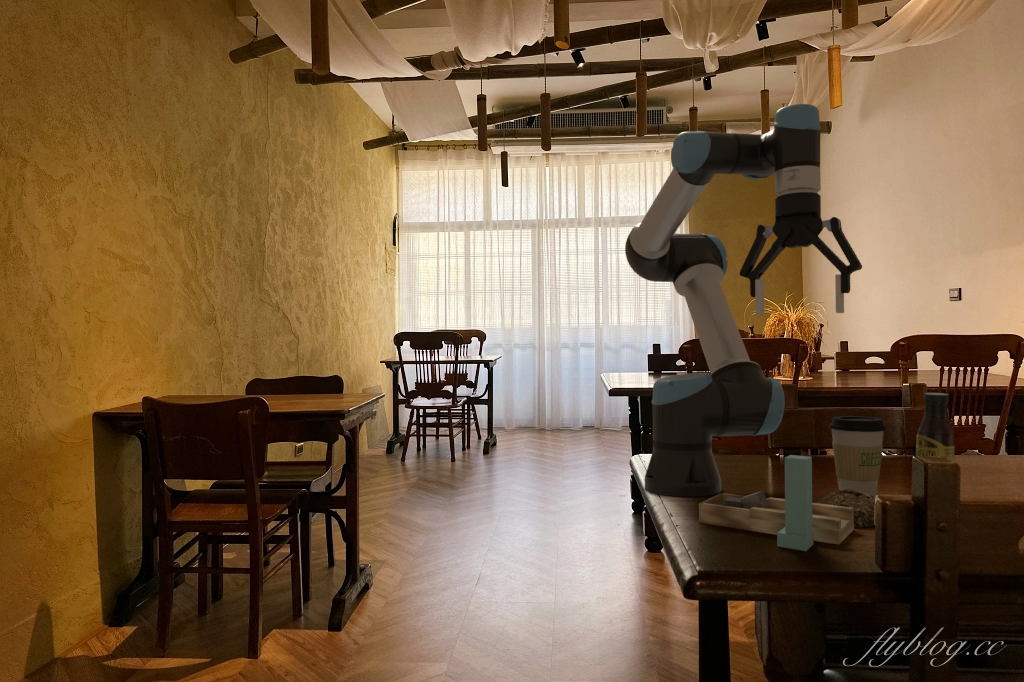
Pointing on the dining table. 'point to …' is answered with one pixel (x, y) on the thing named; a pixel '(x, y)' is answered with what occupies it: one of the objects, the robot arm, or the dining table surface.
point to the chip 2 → (755, 501)
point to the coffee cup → (857, 452)
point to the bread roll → (854, 505)
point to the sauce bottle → (935, 428)
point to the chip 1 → (733, 502)
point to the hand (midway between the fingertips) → (798, 314)
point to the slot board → (778, 518)
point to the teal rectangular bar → (797, 504)
